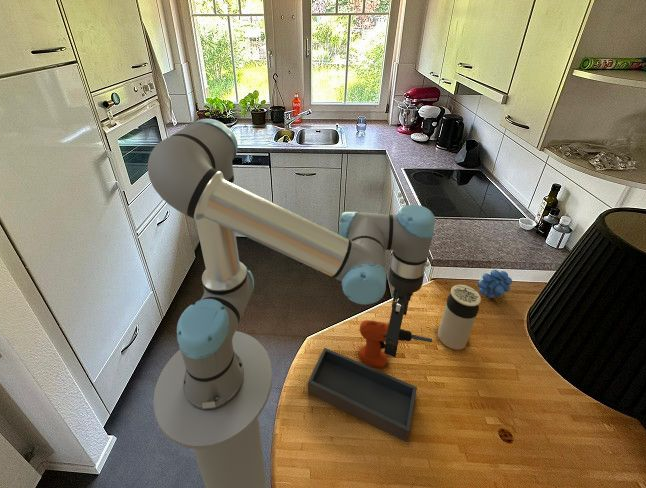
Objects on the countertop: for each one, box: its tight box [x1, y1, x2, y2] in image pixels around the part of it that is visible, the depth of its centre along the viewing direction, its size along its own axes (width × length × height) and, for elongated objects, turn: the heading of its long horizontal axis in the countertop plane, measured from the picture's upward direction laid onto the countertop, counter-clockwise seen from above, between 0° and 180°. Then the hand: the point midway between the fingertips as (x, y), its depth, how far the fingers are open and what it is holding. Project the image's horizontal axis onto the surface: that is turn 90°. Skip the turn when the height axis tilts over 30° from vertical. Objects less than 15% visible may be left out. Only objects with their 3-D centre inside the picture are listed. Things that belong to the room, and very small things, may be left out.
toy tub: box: [307, 347, 418, 442], centre depth 81 cm, size 25×11×5 cm, turn 64°
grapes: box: [477, 269, 513, 299], centre depth 106 cm, size 12×7×12 cm, turn 95°
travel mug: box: [437, 284, 482, 351], centre depth 92 cm, size 8×8×18 cm
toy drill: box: [358, 319, 433, 369], centre depth 85 cm, size 5×19×15 cm, turn 71°
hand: (395, 332), depth 83 cm, fingers open, 13 cm apart
